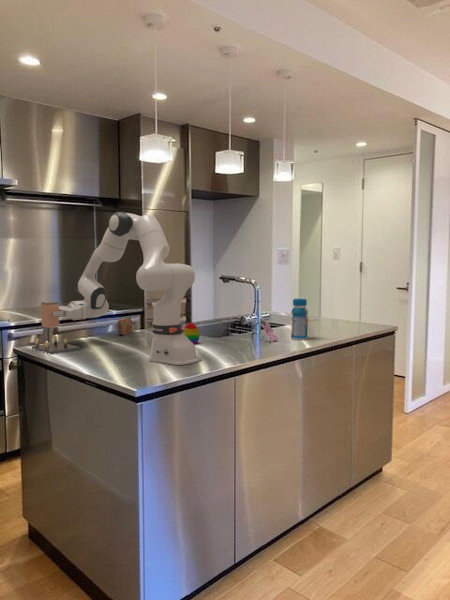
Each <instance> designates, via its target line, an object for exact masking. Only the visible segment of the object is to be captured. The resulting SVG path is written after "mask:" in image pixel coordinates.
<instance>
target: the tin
mask: <svg viewBox="0 0 450 600" xmlns="http://www.w3.org/2000/svg"><path fill="white" fill-rule="evenodd" d="M116 330H117V334H118V335H119V336H125V335H126V336H127V334H128V335H129V334H130V333H132V330H133V321H132V318H131V317H123V318H121V319H118V321H117V322H116Z"/></svg>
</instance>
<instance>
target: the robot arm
mask: <svg viewBox="0 0 450 600" xmlns="http://www.w3.org/2000/svg"><path fill="white" fill-rule="evenodd" d="M129 240H133V241H139V244H140V245H139V246H140V247H141V251H142V254H143V263H142V265H141V266H140V267H138V270H137V271H136V273H135V274H136V275H135V279H136V284H137V285H138V287H139V288H140V289H141V290H144V291H148V292H149V291H150V292H163V295H162V297H161V298H160V299H159V300H158V301H156V302H155V303H154V305H153V307H152V309H153V313H152V317H153V324H152V328H151V329H152V335H153V336H152V339H151V347H150V357H148V361H149V362H154V363H160V364H168V365H173V366H174V365H175V366H182V365H183V366H185V365H189V364H194V363H197V362H198V363H199V362H201V361H202V359H203V357H202V356H199V355H197V352H196V351H197V350H196V346H195V345H196V344H193V343H192V342H191V341H190V340H189V339H188V338H187V337H186V336H185V335H184V333H183V332H184V331H183V330H184V328H185V326H183V325H182V323H181V308H182V302H183V298H184V297H185V294H186V292H187V291H188V290H189V289H190V288H191V287H192V286H193V285H194V283H195V279H196V273H195V270H194V269H193V267H192V266H191V265H188V264H184V263H166V262H165V261H164V260H165V259H166V258H168V256H169V254H170V246H169V244H168V240H167V238H166V235H165V233H164V230H163V228H162V226H161V225H160V222H159V221H158V219H157V218H156V217H155V216H154V215H152V214H144V215H138V214H134V213H130V212H126V211H125V212H124V211H116V212H115V211H114V213H112V215H110V217H109V219H108V227H107V229H106V230H105V232H104V235H103V238H102V240H101V242H100V244H99V245H98V246H97V247H96V248H94V249H93V250H92V252H91V254H90V256H89V257H88V259H87V262H86V263H85V266H84V267H83V269H82V270H81V272H80V274H79V275H78V276H77V278H76V279H75V281H74V289H75V291H76V292H78V293H79V294H81V295H82V296H83V298H84V299H82V300H73V301H70V302H69V303H68V304H67V305H59V311H58V312H52V313H51V315H52V316H59V317H63V318H69V319H71V320H72V321H77V320H86V319H94V318H99V317H102V316H104V315H106V314H107V313H108V311H109V302H108V301H107V297H108V291H107V288H105V287H104V286H103V285H102V284H101V283H100V282H98V281H97V279H96V277H95V276H96V273H97V272H98V270H99V268H100V267H101V264H102V263H103V262H107V263H113V262H114V263H115V262H117V261H119V260H121V259H122V257H123V255H124V253H125V251H126V247H127V244H128V242H129Z"/></svg>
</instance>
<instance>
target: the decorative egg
mask: <svg viewBox="0 0 450 600" xmlns="http://www.w3.org/2000/svg"><path fill="white" fill-rule="evenodd" d="M184 327H185V328H183V329H184V330H183V331H184V332H183V333H184V335H185V336H186V337H187V338H188V339H189V340H190V341H191V342H192V343H193V344H194V345H196V344H197V343H198V342H199V341H200V332H199V329H198V327H197V325H196V324H195V323H193V322H188V323H187V324H186V325H185V326H184Z"/></svg>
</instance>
